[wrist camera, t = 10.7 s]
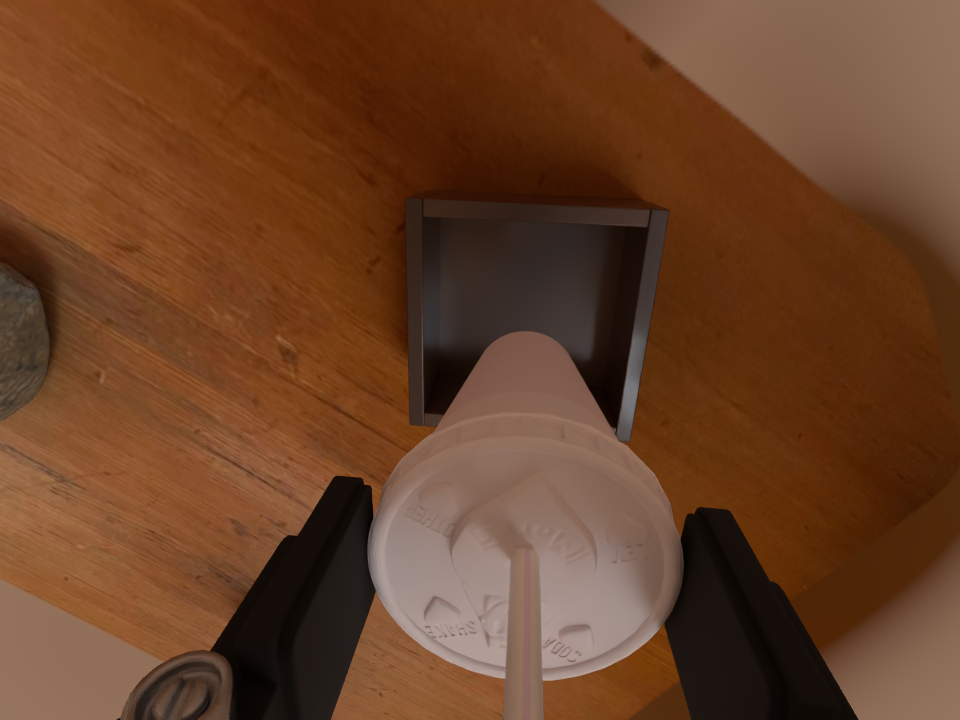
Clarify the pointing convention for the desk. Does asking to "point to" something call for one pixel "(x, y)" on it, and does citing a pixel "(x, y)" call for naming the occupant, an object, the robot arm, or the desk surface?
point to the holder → (530, 289)
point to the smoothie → (525, 530)
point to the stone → (21, 341)
